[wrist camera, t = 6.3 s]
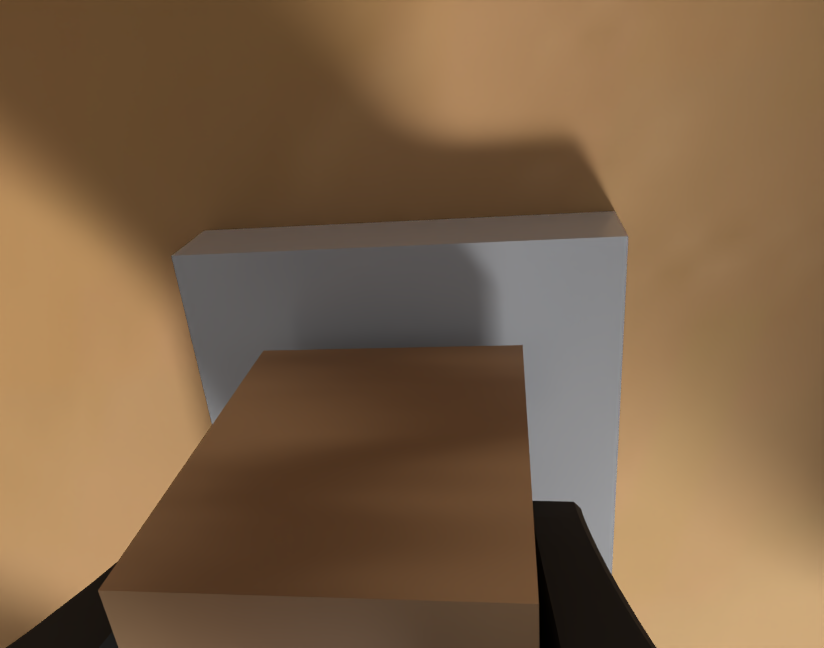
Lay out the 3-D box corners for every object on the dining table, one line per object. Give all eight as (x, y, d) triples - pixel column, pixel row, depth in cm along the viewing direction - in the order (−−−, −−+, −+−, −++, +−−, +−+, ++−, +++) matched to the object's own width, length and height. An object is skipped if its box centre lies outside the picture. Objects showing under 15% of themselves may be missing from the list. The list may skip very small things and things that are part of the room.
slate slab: (610, 203, 13) (627, 235, 11) (598, 531, 16) (610, 596, 15) (213, 223, 14) (171, 256, 12) (276, 525, 18) (251, 586, 16)
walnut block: (522, 345, 11) (538, 604, 7) (526, 553, 13) (541, 878, 8) (262, 350, 12) (98, 590, 7) (301, 548, 14) (190, 849, 9)
